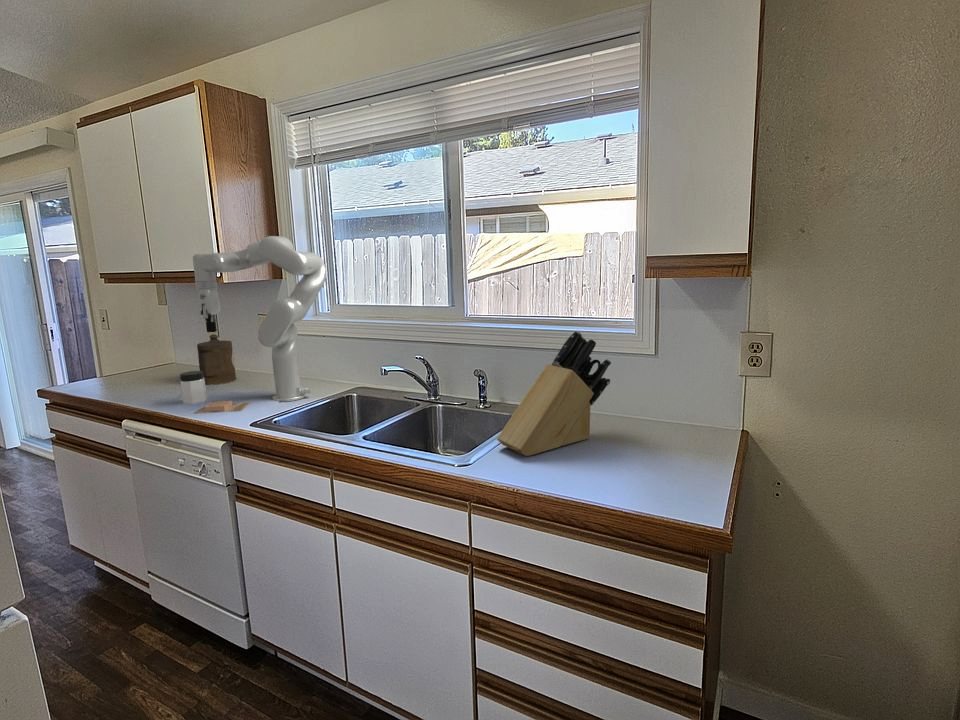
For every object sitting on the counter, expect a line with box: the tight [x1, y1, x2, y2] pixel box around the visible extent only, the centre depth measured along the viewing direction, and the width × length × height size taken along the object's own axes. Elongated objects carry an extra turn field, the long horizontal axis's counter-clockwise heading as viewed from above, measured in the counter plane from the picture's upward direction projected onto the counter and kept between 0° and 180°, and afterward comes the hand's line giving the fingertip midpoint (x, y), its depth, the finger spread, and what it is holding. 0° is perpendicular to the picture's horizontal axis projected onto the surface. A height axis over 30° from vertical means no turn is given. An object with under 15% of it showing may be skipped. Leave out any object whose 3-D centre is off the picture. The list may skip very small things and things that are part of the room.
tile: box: [204, 400, 233, 413], centre depth 206 cm, size 7×2×8 cm
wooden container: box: [196, 333, 237, 385], centre depth 256 cm, size 15×15×22 cm
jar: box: [179, 370, 208, 405], centre depth 219 cm, size 9×8×12 cm
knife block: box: [496, 330, 612, 457], centre depth 157 cm, size 11×35×31 cm, turn 124°
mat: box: [193, 402, 252, 414], centre depth 208 cm, size 17×12×1 cm
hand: (211, 331), depth 221 cm, fingers closed
